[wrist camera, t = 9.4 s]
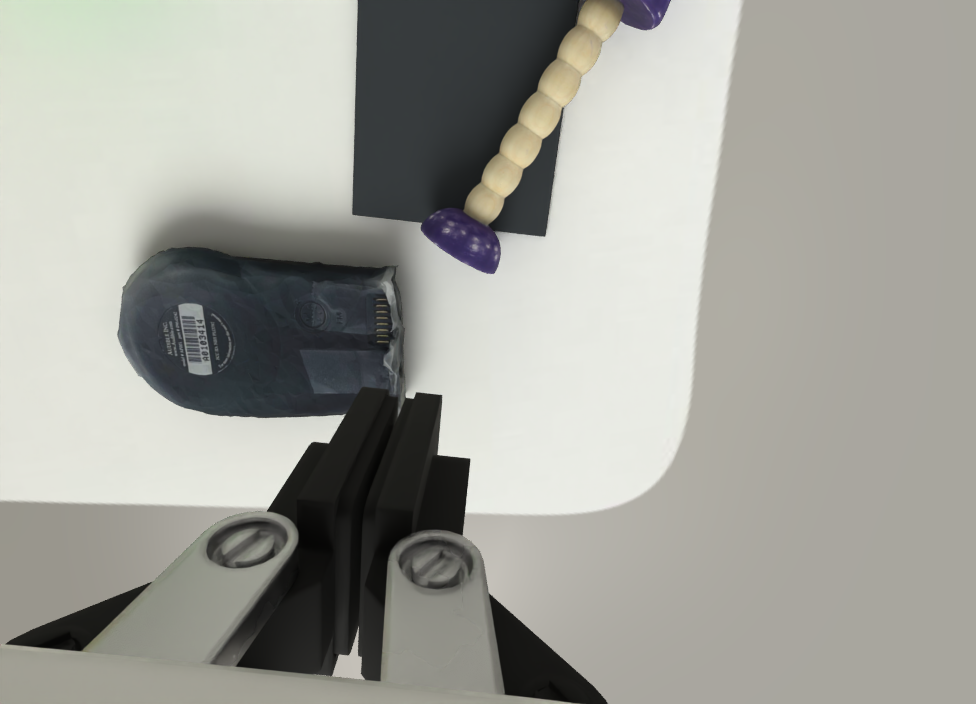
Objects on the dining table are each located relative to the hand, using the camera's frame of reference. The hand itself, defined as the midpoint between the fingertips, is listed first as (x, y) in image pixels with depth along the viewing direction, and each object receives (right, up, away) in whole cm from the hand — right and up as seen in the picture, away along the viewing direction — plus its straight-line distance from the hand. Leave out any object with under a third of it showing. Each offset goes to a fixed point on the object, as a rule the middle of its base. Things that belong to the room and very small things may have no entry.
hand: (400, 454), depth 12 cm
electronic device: (-10, +3, +19) cm, 22 cm away
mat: (+1, +18, +14) cm, 23 cm away
